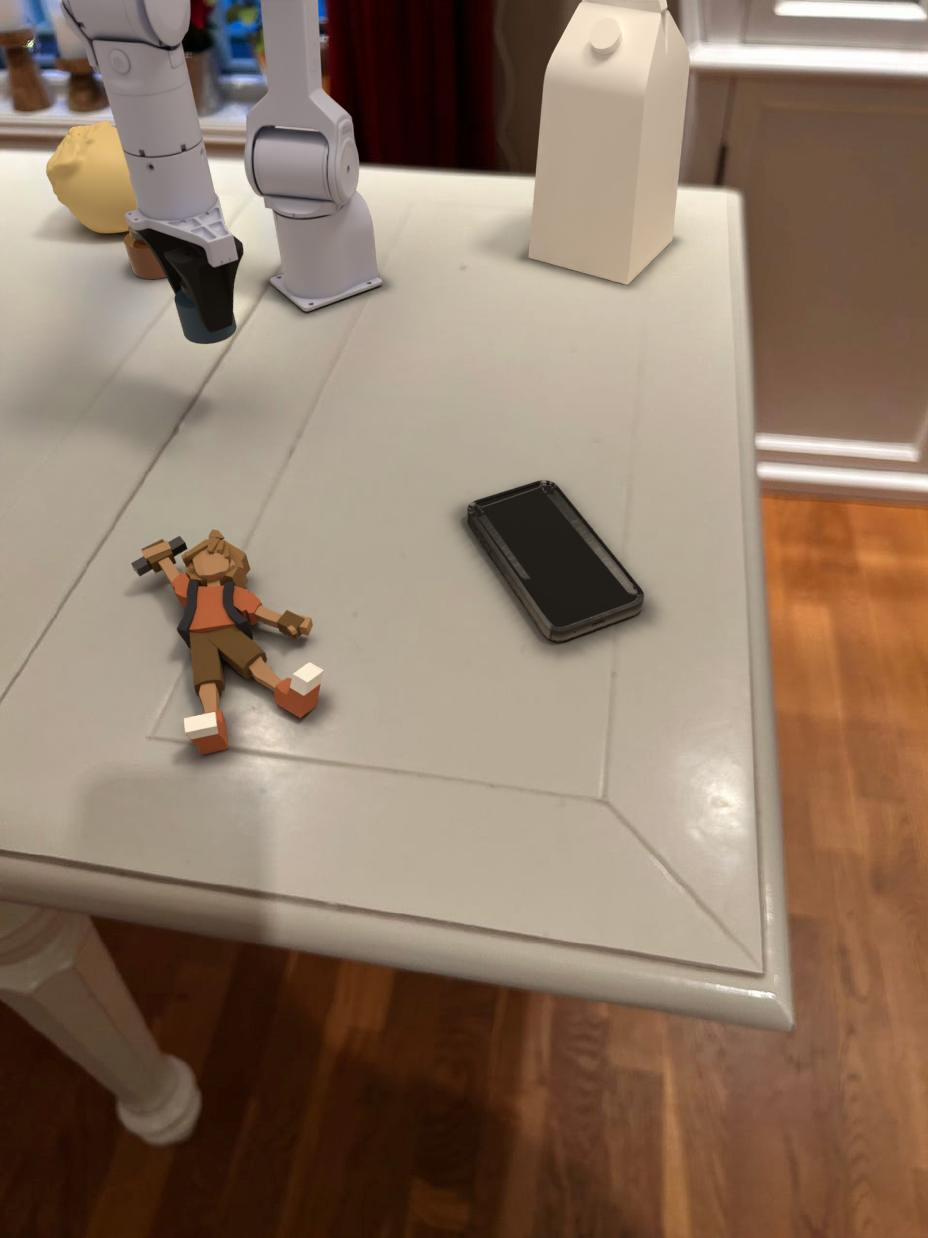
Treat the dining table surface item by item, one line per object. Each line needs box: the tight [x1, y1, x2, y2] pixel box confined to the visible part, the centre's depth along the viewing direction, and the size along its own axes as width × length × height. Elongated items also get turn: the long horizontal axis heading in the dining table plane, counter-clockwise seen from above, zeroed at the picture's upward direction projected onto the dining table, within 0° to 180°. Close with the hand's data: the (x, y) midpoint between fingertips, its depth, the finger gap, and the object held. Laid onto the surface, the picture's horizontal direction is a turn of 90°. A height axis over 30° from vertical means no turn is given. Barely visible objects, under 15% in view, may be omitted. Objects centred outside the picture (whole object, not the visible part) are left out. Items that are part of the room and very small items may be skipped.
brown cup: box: [123, 225, 167, 280], centre depth 99 cm, size 6×6×5 cm
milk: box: [527, 0, 691, 286], centre depth 92 cm, size 12×12×26 cm
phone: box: [466, 479, 645, 643], centre depth 68 cm, size 8×1×15 cm
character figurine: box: [130, 528, 324, 756], centre depth 63 cm, size 12×5×18 cm
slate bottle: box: [173, 280, 238, 345], centre depth 75 cm, size 4×4×4 cm
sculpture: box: [45, 119, 137, 234], centre depth 105 cm, size 11×12×11 cm
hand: (206, 314), depth 76 cm, fingers closed on slate bottle, 4 cm apart
